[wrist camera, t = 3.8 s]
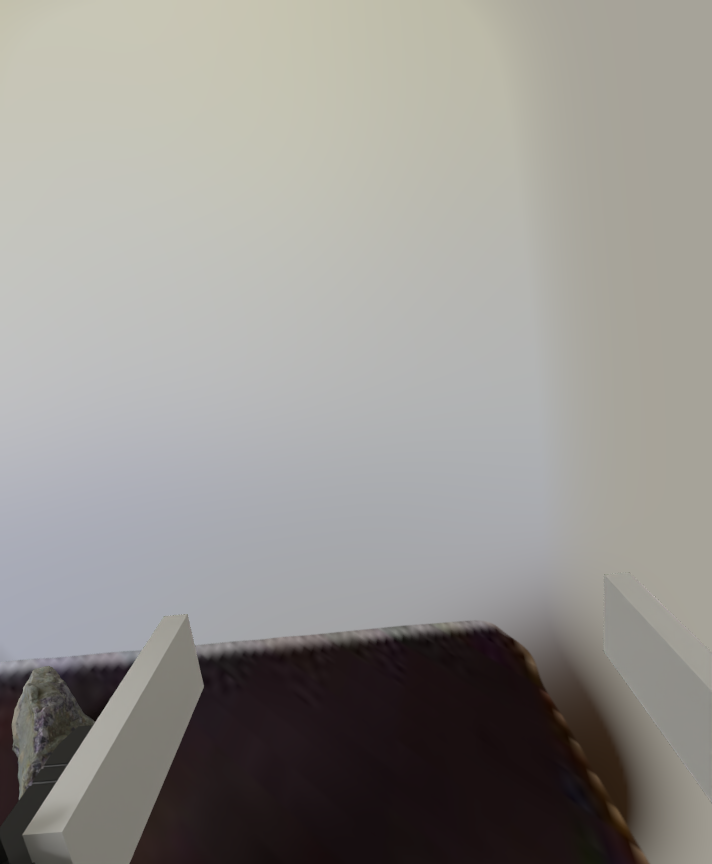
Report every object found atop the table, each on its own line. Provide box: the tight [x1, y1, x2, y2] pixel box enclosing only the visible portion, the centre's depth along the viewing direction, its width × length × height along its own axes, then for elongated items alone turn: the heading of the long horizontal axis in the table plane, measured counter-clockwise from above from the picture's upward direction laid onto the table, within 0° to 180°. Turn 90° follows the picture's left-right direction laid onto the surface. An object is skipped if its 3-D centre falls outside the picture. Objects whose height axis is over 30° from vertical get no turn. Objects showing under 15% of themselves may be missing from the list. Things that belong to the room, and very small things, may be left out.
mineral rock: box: [12, 666, 95, 800], centre depth 44 cm, size 13×11×10 cm
